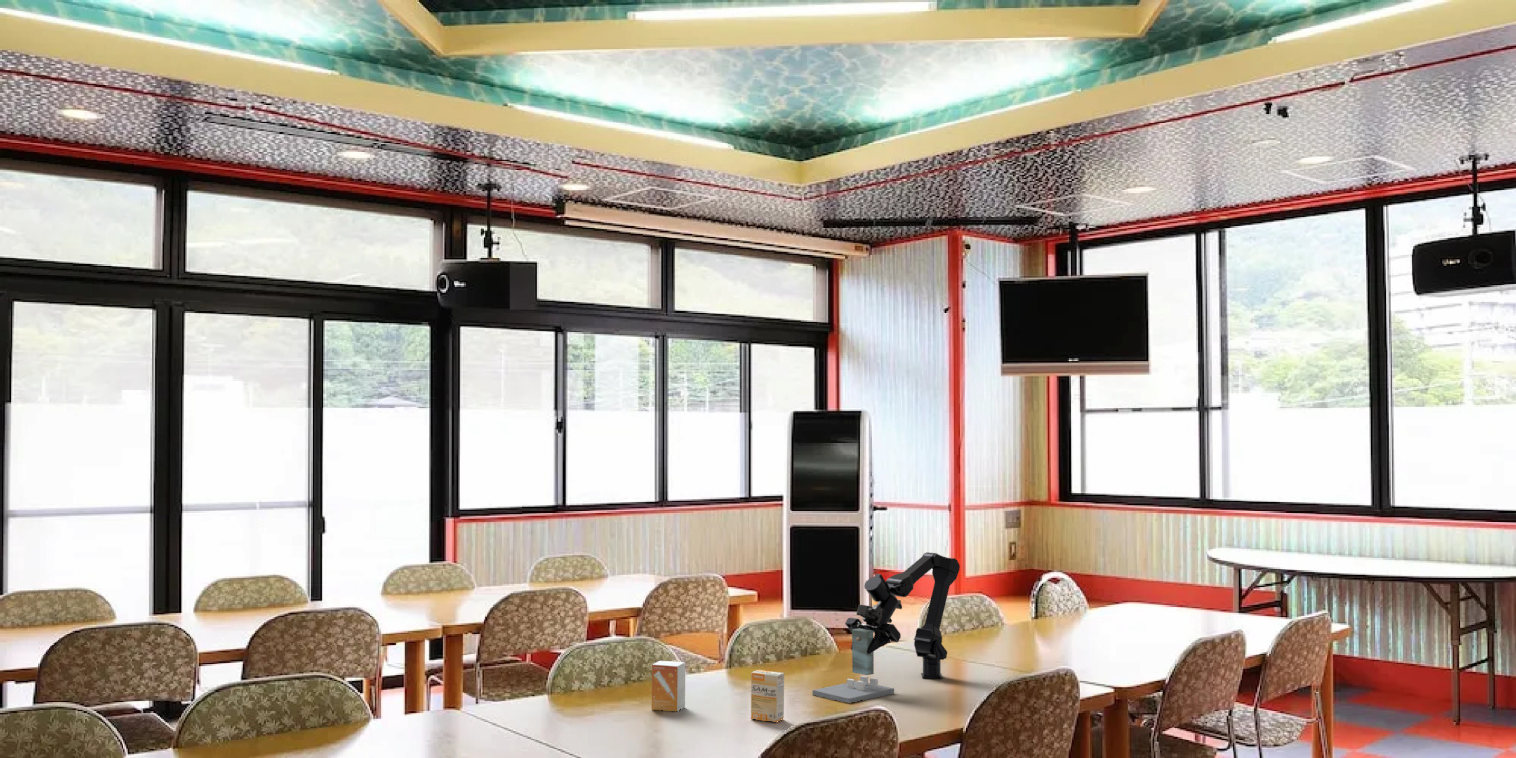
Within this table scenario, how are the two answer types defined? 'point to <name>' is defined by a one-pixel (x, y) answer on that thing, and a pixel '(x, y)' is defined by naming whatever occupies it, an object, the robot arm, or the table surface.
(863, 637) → the tall streaky grey pillar
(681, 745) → the table surface
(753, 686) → the supplement box
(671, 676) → the small box
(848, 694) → the base plate
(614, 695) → the table surface
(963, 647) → the table surface
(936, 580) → the robot arm
